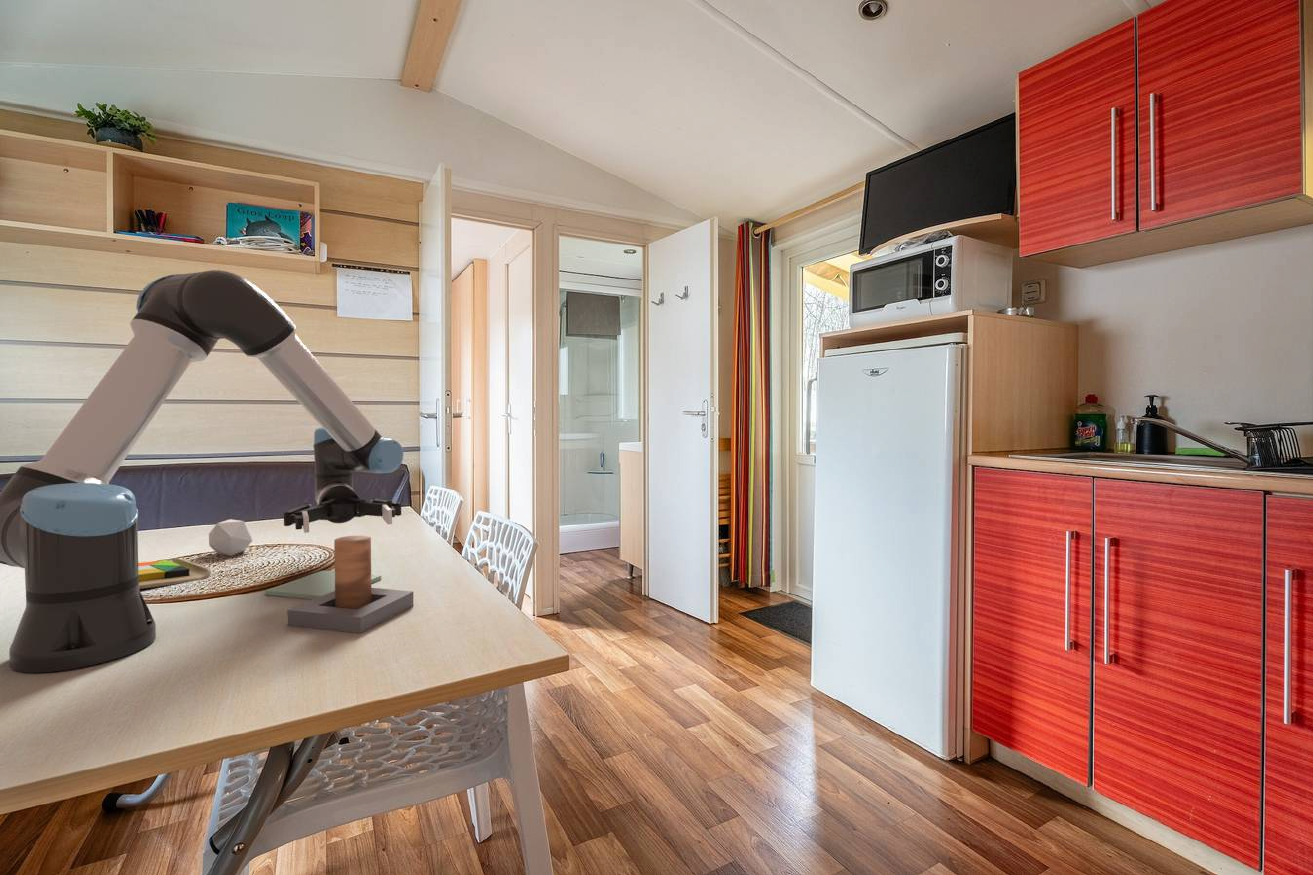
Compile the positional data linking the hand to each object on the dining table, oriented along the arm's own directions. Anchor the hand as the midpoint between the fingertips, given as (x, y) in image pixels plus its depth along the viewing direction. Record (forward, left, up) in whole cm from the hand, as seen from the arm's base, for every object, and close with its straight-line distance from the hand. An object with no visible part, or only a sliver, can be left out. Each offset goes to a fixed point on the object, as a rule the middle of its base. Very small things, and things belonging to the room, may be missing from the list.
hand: (349, 520), depth 110 cm
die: (+21, +49, -14) cm, 55 cm away
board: (+5, +9, -14) cm, 18 cm away
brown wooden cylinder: (-7, -7, -14) cm, 17 cm away
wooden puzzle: (-1, +47, -15) cm, 50 cm away
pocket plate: (-7, -7, -14) cm, 17 cm away
